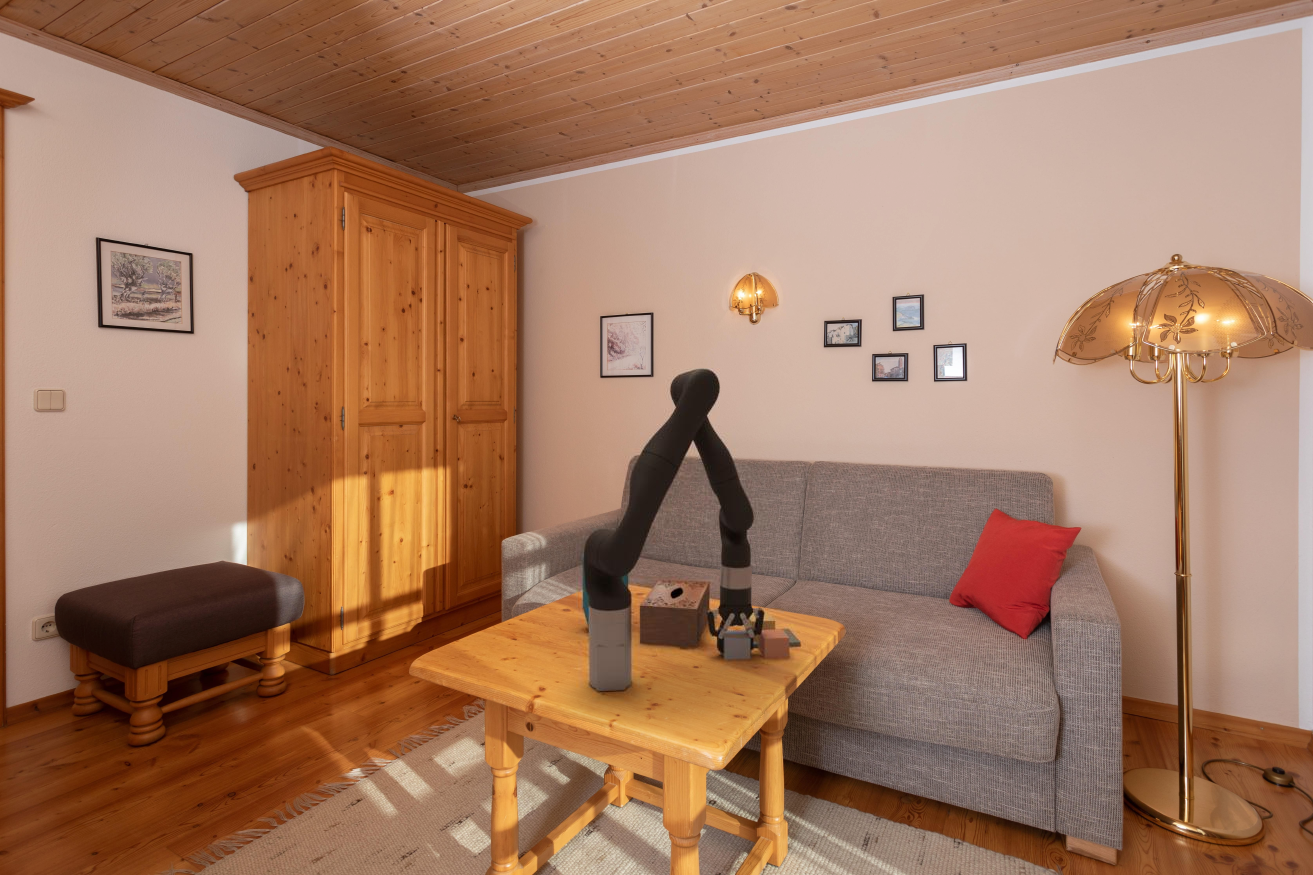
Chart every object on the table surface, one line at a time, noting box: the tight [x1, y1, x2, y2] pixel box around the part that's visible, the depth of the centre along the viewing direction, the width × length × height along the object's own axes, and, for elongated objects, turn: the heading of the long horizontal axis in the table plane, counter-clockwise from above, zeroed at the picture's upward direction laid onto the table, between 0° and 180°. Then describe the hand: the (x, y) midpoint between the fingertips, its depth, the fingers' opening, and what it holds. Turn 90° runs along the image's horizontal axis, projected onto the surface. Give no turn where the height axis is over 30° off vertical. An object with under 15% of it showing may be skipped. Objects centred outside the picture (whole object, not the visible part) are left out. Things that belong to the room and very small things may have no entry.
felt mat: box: [744, 628, 802, 649], centre depth 174 cm, size 10×14×1 cm
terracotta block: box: [757, 628, 790, 660], centre depth 165 cm, size 6×6×5 cm
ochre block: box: [746, 612, 776, 641], centre depth 174 cm, size 6×6×5 cm
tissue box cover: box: [639, 578, 711, 649], centre depth 183 cm, size 26×14×10 cm, turn 168°
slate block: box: [721, 629, 751, 661], centre depth 164 cm, size 6×6×5 cm
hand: (735, 651), depth 164 cm, fingers closed on slate block, 6 cm apart
